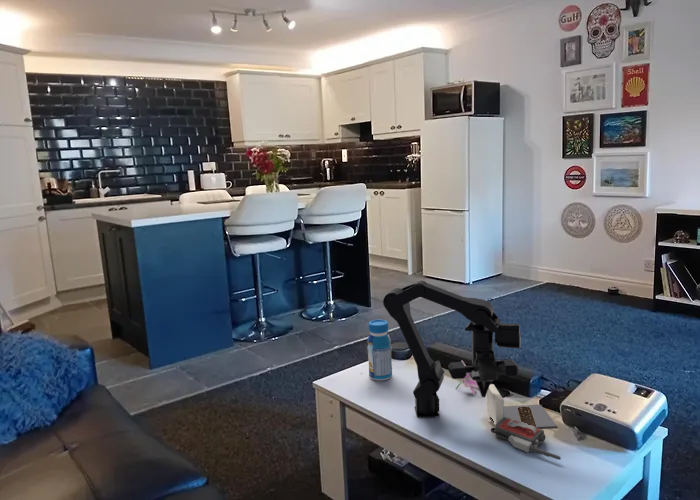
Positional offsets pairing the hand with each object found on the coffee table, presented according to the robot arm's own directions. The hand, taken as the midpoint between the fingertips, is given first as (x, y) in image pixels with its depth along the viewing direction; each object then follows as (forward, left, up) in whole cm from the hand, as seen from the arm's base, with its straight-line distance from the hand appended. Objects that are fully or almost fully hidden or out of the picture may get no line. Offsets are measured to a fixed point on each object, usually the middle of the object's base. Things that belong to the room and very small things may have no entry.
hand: (483, 396), depth 155 cm
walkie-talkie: (+8, -14, -7) cm, 18 cm away
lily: (0, +19, -7) cm, 20 cm away
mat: (+12, 0, -7) cm, 14 cm away
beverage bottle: (-28, +34, -7) cm, 44 cm away
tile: (+3, 0, -7) cm, 8 cm away
